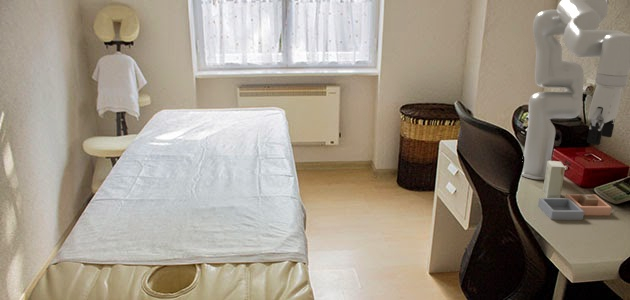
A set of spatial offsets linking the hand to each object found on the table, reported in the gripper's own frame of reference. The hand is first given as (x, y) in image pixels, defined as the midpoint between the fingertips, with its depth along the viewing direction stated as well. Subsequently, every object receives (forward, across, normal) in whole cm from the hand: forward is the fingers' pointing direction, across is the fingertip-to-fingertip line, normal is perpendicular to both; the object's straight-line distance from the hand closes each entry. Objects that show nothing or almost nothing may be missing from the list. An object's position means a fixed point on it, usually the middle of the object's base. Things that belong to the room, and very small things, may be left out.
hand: (599, 139), depth 141 cm
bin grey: (+27, -2, -8) cm, 28 cm away
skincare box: (+27, -14, -15) cm, 34 cm away
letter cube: (+26, -12, -3) cm, 29 cm away
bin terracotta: (+27, -12, -3) cm, 30 cm away
